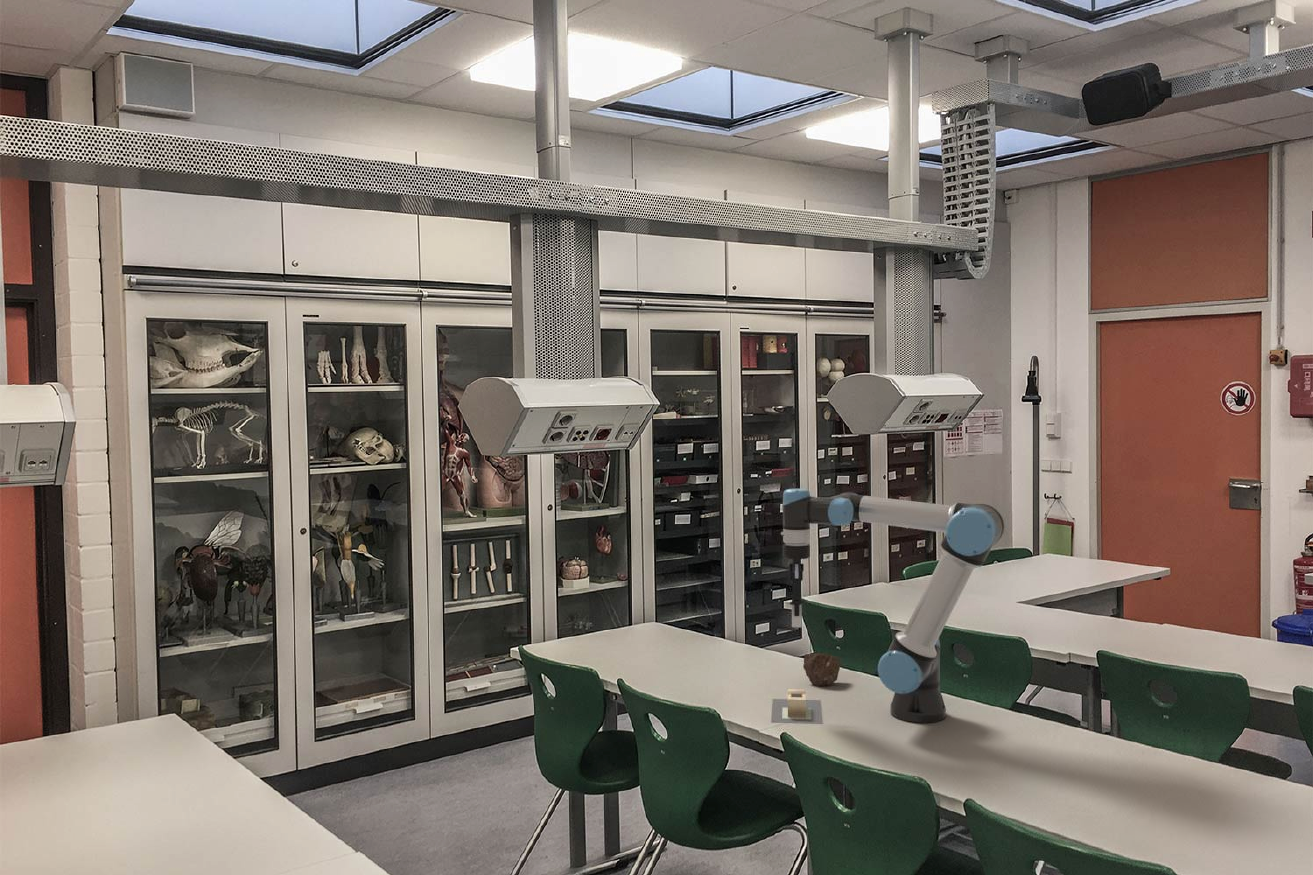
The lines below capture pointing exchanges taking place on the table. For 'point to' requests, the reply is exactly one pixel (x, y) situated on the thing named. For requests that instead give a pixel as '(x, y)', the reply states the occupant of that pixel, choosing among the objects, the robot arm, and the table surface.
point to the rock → (821, 668)
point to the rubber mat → (782, 717)
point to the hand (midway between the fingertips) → (796, 626)
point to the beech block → (796, 703)
